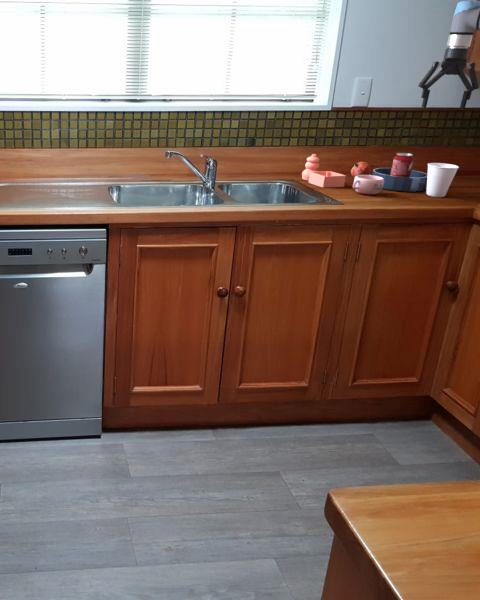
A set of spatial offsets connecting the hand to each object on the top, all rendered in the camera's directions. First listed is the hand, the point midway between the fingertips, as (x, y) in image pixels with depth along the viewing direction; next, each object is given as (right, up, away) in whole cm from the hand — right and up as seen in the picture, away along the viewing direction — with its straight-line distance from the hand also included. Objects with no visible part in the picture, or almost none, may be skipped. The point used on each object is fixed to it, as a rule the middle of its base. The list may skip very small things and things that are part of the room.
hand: (442, 108), depth 230 cm
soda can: (-15, -29, +4) cm, 33 cm away
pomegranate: (-25, -21, +14) cm, 35 cm away
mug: (-34, -34, -8) cm, 48 cm away
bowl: (-15, -29, +4) cm, 33 cm away
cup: (-8, -35, -8) cm, 37 cm away
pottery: (-44, -27, +9) cm, 52 cm away
